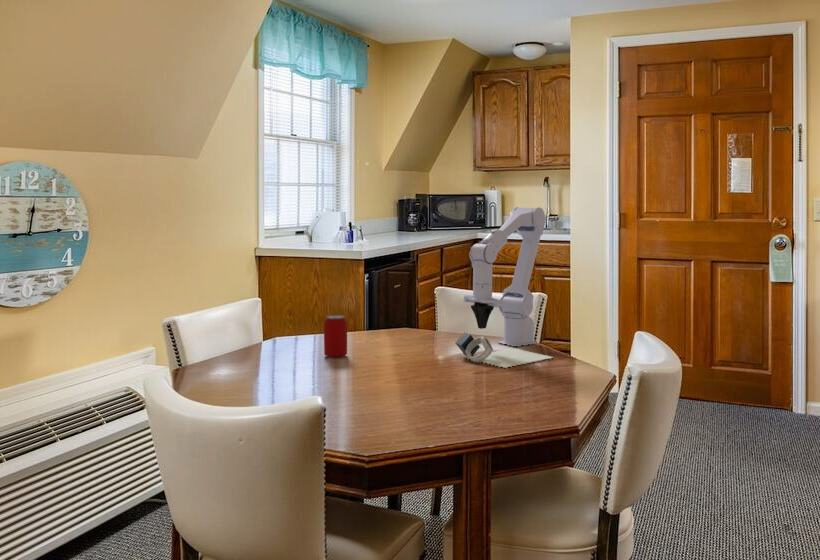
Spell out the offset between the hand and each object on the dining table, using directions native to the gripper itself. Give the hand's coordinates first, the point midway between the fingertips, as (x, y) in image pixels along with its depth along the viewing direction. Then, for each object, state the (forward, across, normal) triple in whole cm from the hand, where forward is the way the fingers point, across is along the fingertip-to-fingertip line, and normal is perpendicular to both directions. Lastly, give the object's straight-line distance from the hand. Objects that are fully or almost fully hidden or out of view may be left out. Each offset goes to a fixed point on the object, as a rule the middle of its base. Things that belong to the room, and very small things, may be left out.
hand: (482, 328), depth 223 cm
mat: (+7, +12, 0) cm, 14 cm away
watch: (+3, +1, -8) cm, 9 cm away
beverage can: (+8, -22, -38) cm, 45 cm away
